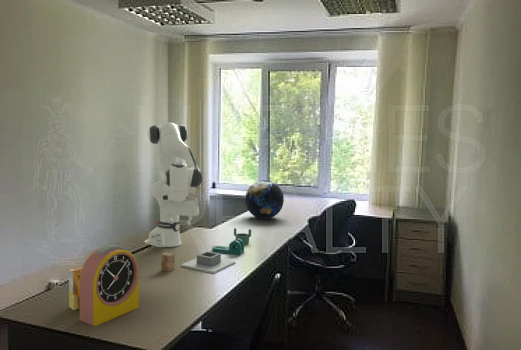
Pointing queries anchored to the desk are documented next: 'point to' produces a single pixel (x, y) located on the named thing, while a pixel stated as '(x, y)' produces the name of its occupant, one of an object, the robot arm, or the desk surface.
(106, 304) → the alarm clock
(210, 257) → the well
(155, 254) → the desk surface
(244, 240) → the bracket
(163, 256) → the walnut block
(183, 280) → the desk surface
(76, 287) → the candy box
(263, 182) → the globe
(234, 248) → the bracket
